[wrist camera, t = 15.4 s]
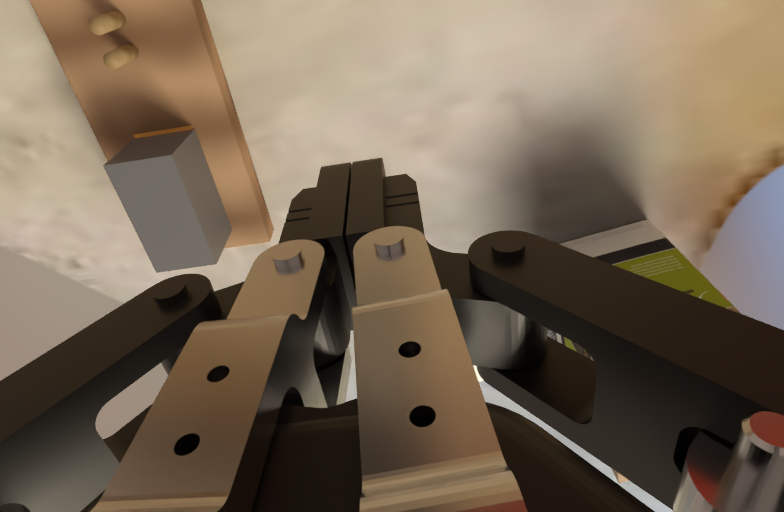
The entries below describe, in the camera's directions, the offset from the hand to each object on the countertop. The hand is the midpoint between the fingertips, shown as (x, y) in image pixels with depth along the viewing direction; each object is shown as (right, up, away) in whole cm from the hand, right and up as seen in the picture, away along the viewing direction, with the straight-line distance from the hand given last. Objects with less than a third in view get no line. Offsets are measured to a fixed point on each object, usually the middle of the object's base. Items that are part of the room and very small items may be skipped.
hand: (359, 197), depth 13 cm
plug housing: (-15, +4, +27) cm, 31 cm away
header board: (-16, +9, +26) cm, 32 cm away
